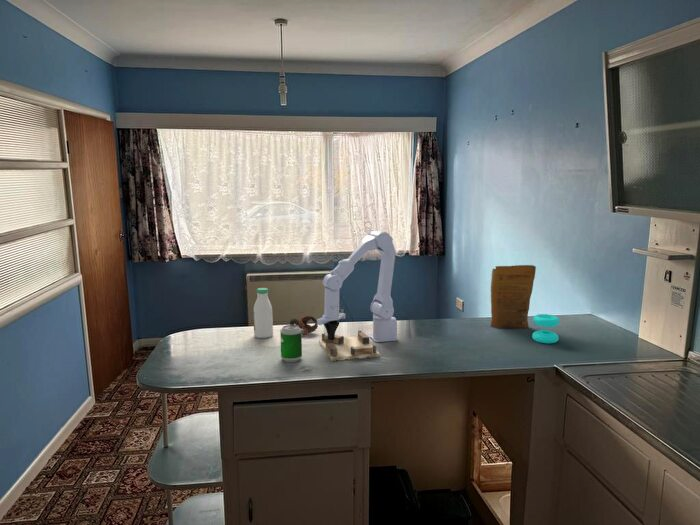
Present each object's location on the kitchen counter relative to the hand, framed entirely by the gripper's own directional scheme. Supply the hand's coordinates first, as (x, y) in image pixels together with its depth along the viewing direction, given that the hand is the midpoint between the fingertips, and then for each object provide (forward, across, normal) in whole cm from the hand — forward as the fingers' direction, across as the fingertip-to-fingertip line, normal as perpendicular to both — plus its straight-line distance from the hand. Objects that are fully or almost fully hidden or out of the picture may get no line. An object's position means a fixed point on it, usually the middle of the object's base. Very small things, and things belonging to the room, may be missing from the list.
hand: (331, 339), depth 192 cm
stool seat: (+2, -1, +7) cm, 8 cm away
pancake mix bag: (0, -69, +44) cm, 82 cm away
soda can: (+3, +20, -1) cm, 20 cm away
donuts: (+1, -60, +62) cm, 86 cm away
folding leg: (+1, -1, 0) cm, 2 cm away
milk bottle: (+3, +8, -31) cm, 32 cm away
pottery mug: (+3, -6, -21) cm, 22 cm away
